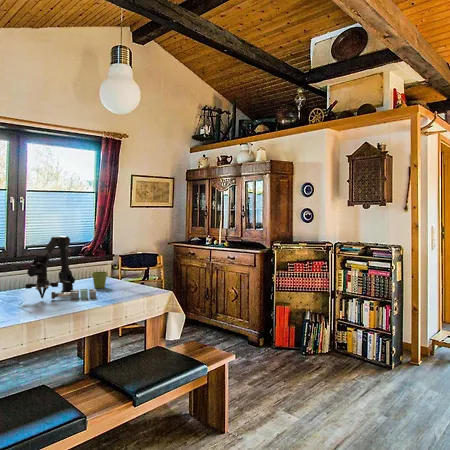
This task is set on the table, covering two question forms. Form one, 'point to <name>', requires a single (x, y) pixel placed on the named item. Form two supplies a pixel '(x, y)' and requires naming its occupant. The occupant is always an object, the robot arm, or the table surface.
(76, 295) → the cradle rig
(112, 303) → the table surface
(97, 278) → the plant pot
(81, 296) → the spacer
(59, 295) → the shaft
